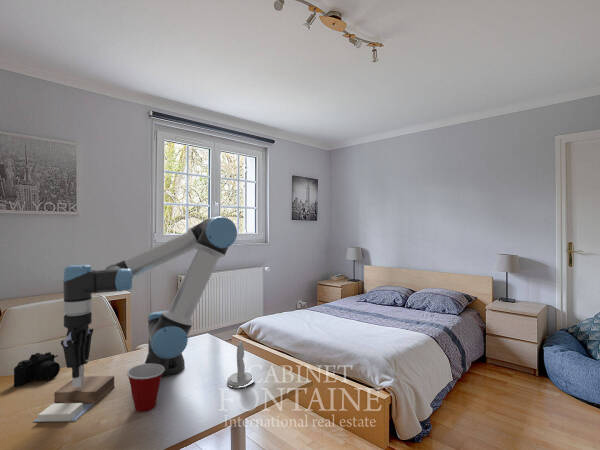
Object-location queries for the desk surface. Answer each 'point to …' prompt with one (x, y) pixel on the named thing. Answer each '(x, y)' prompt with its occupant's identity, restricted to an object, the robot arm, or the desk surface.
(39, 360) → the film camera
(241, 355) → the grey stemmed stand
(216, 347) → the desk surface
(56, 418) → the white rectangular block
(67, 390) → the brown wooden flat block
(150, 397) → the plastic cup
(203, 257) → the robot arm
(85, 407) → the mat
